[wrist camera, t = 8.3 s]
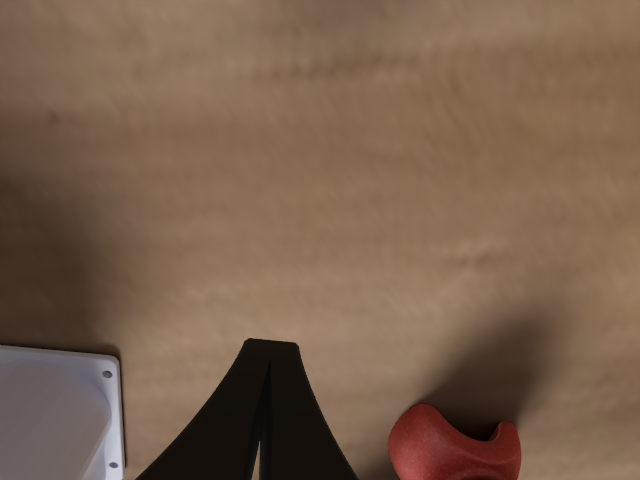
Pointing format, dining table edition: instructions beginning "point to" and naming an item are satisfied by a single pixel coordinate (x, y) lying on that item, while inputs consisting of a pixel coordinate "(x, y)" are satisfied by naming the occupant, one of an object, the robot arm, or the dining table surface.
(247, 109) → the dining table surface
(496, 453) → the colourful wooden stacking toy
